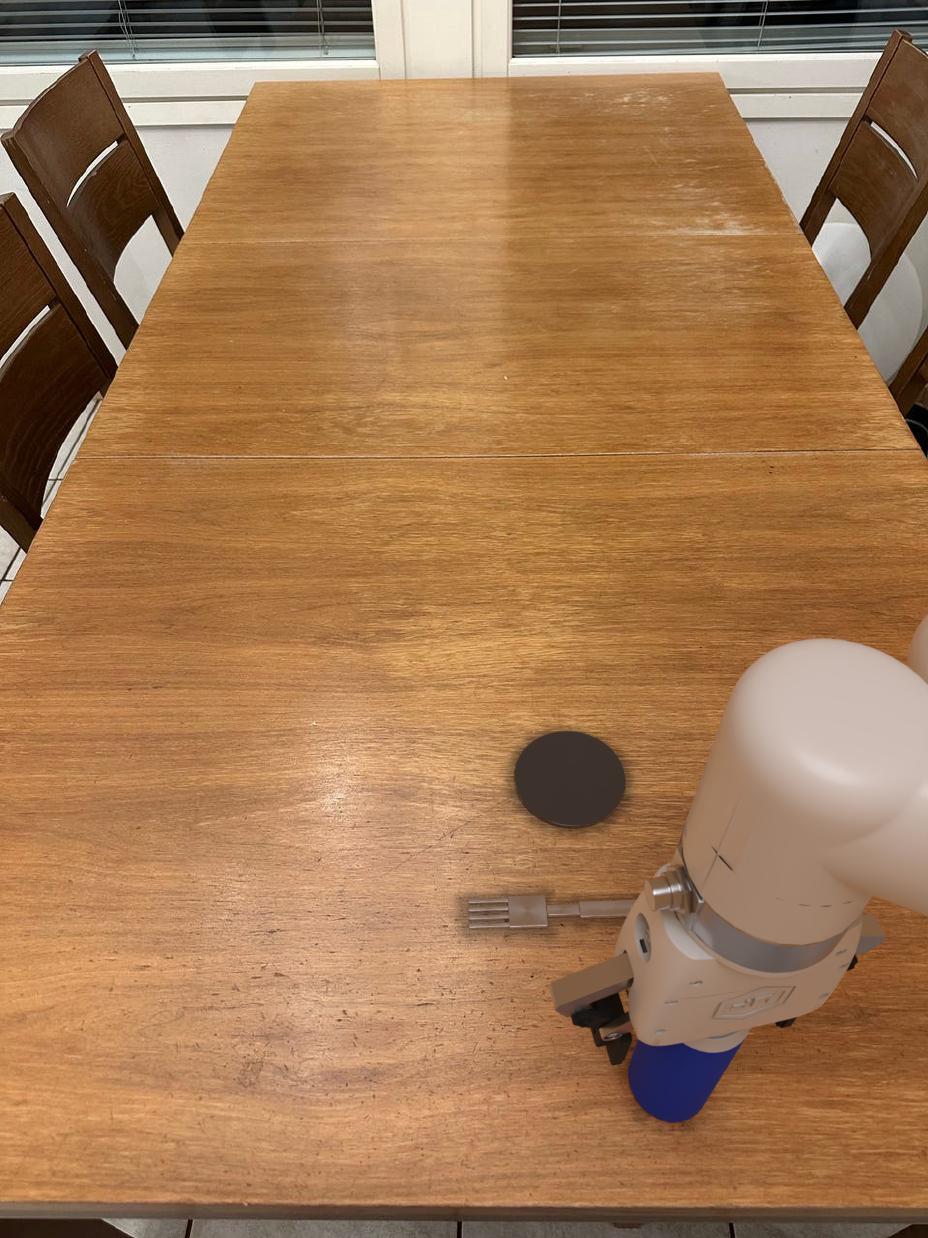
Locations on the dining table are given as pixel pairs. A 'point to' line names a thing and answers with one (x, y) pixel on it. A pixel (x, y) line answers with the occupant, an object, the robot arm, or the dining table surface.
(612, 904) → the fork
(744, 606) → the dining table surface
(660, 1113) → the beverage can
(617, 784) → the coaster
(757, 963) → the robot arm
